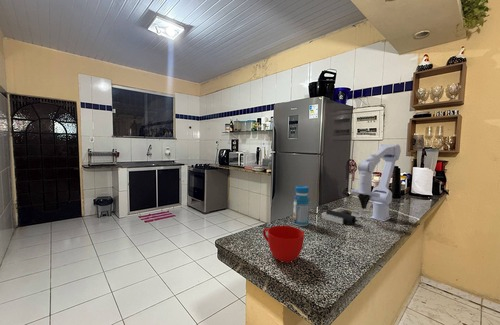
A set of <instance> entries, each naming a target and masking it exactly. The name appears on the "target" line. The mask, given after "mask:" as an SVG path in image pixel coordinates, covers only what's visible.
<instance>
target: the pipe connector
mask: <svg viewBox="0 0 500 325" xmlns="http://www.w3.org/2000/svg"><path fill="white" fill-rule="evenodd" d="M332 210H333V209H327V210H326V211H325V212H326V213H327V214H330V215H334V216H338V217H341V218H344V224H346V225H348V226H349V225H350V226H354V225H355V224H356V221H357V220H356V218H357V217H355V216H352V215H351V214H352V211H348V210H343V211H342V212H336V211H332Z"/></svg>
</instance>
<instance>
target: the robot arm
mask: <svg viewBox="0 0 500 325" xmlns="http://www.w3.org/2000/svg"><path fill="white" fill-rule="evenodd" d="M401 151H402V150H401V146H400V144H380V145H379V146H378V150H377V151H376V153H373V154H371V153H370V155H369V156H368V157H367V158H366V159H365V160H361V161H360V162H359V163H358V165H357V170H358V175H359V182H358V183H359V184H358V185H359V186H358V189H350V194H357V198H358V200H359V203H360V207H361V209H363V210H365V209H367V206H368V203H369V201H371V202H372V205H373V206H372V215H371V216H369V218H370V219H373V220H377V221H381V222H386V221H389V219H391V217H390V206H389V205H390V204H391V203H392V200H393V192H392V191H391V190H390V189H389V188H390V187H389V186H390V183H391V180H392V176H393V173H394V172H393V171H394V169H395V166H396V162H397V161H398V160H399V159H400V155H401V153H402V152H401ZM381 159H382V160H383V161H384V166H383V168H382V172H381V176H380V179H379V182H378V185H377V186H376V187H373V189H372V177H373V172H375V169H376V166H377V165H379V163H380V162H381Z"/></svg>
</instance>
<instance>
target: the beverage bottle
mask: <svg viewBox="0 0 500 325" xmlns="http://www.w3.org/2000/svg"><path fill="white" fill-rule="evenodd" d="M309 188H310V187H309V186H305V185H297V186H295V193H296V194H295V195H294V197H293V205H292V206H293V216H292V217H293V218H292V223H293V224H294V225H295V226H298V227H299V226H300V227H306V226H308V225H309V223H310V220H309V219H310V217H309V216H310V204H311V203H310V196H309V195H308V194H309Z"/></svg>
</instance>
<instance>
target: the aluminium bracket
mask: <svg viewBox="0 0 500 325" xmlns="http://www.w3.org/2000/svg"><path fill="white" fill-rule="evenodd" d="M331 210H332V211H336V212H342V211H343V210H348V211H352V214H351V215H352V216H355V218H361V216H362V214H361V211H358V210H353V209H349V208H345V207H337V208H334V209H331ZM326 212H327V211H324V212H321V219H324V220H326V221H329V222H334V223H335V224H340V225H344V224H345V223H344V218H341V217H338V216H334V215H330V214H327V213H326Z"/></svg>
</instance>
